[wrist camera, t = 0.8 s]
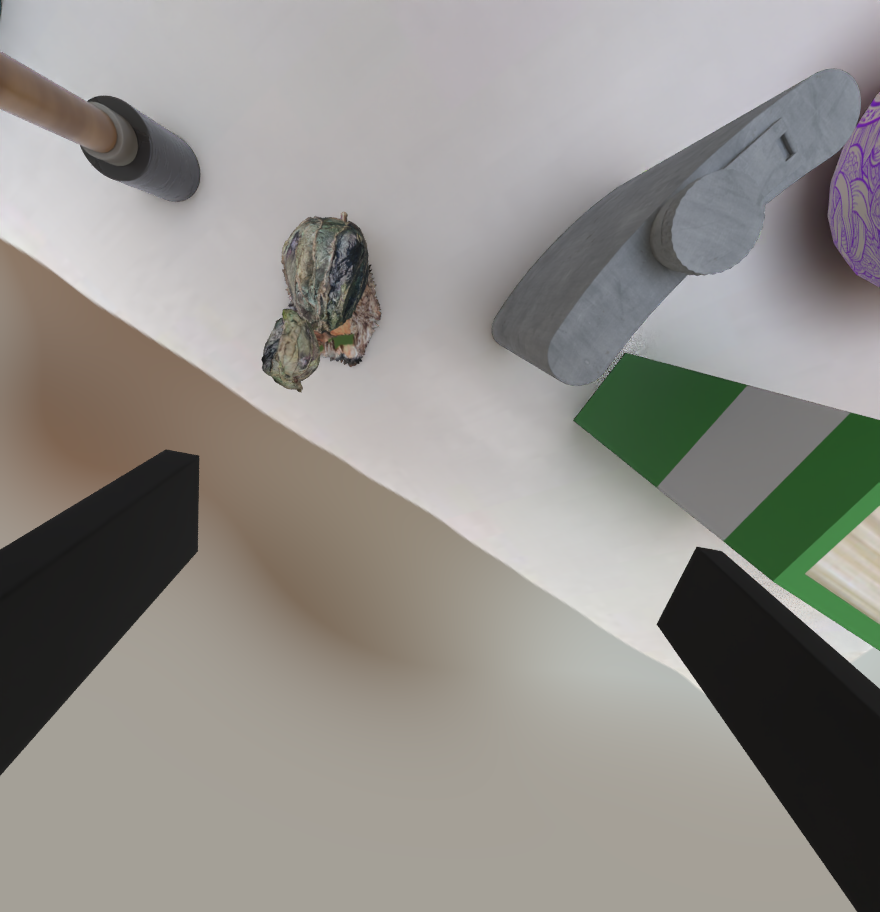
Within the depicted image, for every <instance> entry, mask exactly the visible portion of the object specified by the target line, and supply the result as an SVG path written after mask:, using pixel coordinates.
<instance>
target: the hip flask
mask: <svg viewBox="0 0 880 912" xmlns="http://www.w3.org/2000/svg"><path fill="white" fill-rule="evenodd" d="M860 109H861V97H860V91H859V88H858V85H857V83H856V81H855V80H854V78H853V77H852V76H851V75H850V74H848V73H847V72H845V71H843V70H839V69H826V70H823V71H820V72H817V73H815V74H814V75H812V76H810V77H808V78H807V79H805V80H803V81H802V82H800V83H798V84H796V85H795V86H793V87H791V88H789V89H788V90H786V91H784V92H782V93H781V94H779V95H777V96H775V97H774V98H772V99H770V100H769V101H767V102H765V103H763V104H762V105H760V106H758V107H756V108H755V109H753V110H751V111H749V112H748V113H746V114H744V115H742V116H741V117H739V118H737V119H736V120H734V121H732V122H730V123H729V124H727V125H725V126H723V127H722V128H720V129H718V130H716V131H715V132H713V133H711V134H709V135H708V136H706V137H704V138H703V139H701V140H699V141H697V142H696V143H694V144H692V145H690V146H689V147H687V148H685V149H683V150H682V151H680V152H678V153H676V154H675V155H673V156H671V157H670V158H668V159H666V160H664V161H663V162H661V163H659V164H657V165H656V166H654V167H652V168H650V169H649V170H647V171H645V172H643V173H642V174H640V175H638V176H637V177H635V178H633V179H631V180H630V181H628V182H626V183H624V184H623V185H621V186H619V187H617V188H616V189H615V190H613V191H612V192H611V193H609V194H608V195H607V196H605V197H604V198H603V199H601V200H600V201H599V202H598V203H596V204H595V205H594V206H593V207H591V208H590V209H589V210H588V211H587V212H586V213H585V214H583V215H582V216H581V217H580V218H579V219H578V220H577V221H576V222H575V223H573V224H572V225H571V226H570V227H569V228H568V229H567V230H566V231H565V232H564V233H563V234H562V235H561V236H560V237H559V238H558V239H557V240H556V241H555V242H554V243H553V244H552V245H551V246H550V247H549V248H548V250H547V251H546V252H545V253H544V254H543V255H542V256H541V257H540V258H539V259H538V261H537V262H536V263H535V264H534V265H533V266H532V268H531V269H530V270H529V271H528V272H527V274H526V275H525V276H524V277H523V279H522V280H521V281H520V282H519V284H518V285H517V286H516V288H515V289H514V290H513V292H512V293H511V294H510V296H509V297H508V299H507V300H506V302H505V303H504V305H503V306H502V308H501V309H500V311H499V313H498V314H497V316H496V317H495V319H494V321H493V324H492V335H493V337H494V339H495V341H496V342H497V343H498V344H500V345H501V346H503V347H504V348H506V349H508V350H509V351H511V352H513V353H514V354H516V355H518V356H519V357H521V358H523V359H524V360H526V361H528V362H529V363H531V364H533V365H534V366H536V367H538V368H539V369H541V370H543V371H544V372H546V373H548V374H549V375H551V376H553V377H554V378H556V379H558V380H559V381H561V382H563V383H565V384H568V385H572V386H580V385H585V384H588V383H591V382H593V381H594V380H596V379H598V378H599V377H600V376H601V375H602V374H603V373H604V372H605V371H606V369H607V368H608V367H609V365H610V364H611V363H612V361H613V360H614V358H615V357H616V356H617V354H618V353H619V352H620V350H621V349H622V348H623V347H624V345H625V344H626V343H627V342H628V340H629V339H630V338H631V336H632V335H633V334H634V333H635V332H636V330H637V329H638V328H639V327H640V326H641V325H642V323H643V322H644V321H645V320H646V319H647V318H648V316H649V315H650V314H651V313H652V312H653V311H654V310H655V309H656V308H657V306H658V305H659V304H660V303H661V302H662V301H663V300H664V299H665V298H666V297H667V295H668V294H669V293H670V292H671V291H672V290H673V289H674V288H675V287H676V286H677V285H678V284H679V283H680V282H681V281H682V280H683V279H684V278H685V277H686V276H687V275H696V276H699V275H707V274H716V273H721V272H723V271H725V270H727V269H730V268H732V267H733V266H734V265H736V264H738V263H739V262H740V261H741V260H742V259H743V258H744V257H746V256H747V255H748V253H749V251H750V250H751V249H752V248H753V247H754V245H755V242H756V241H757V240H758V238H759V235H760V232H761V230H762V228H763V221H764V219H765V214H764V211H765V205H766V204H767V203H768V202H770V201H771V200H772V199H773V198H775V197H776V196H777V195H779V194H780V193H781V192H782V191H784V190H785V189H786V188H788V187H789V186H790V185H792V184H793V183H794V182H796V181H797V180H799V179H800V178H801V177H803V176H804V175H805V174H807V173H808V172H810V171H811V170H813V169H814V168H816V167H817V166H819V165H820V164H822V163H823V162H824V161H826V160H827V159H829V158H830V157H832V156H833V155H834V154H836V153H837V152H838V151H839V150H840V149H841V148H842V147H843V146H844V145H845V144H846V142H847V141H848V139H849V138H850V137H851V135H852V133H853V131H854V129H855V127H856V124H857V121H858V119H859V114H860Z"/></svg>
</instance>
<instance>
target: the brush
mask: <svg viewBox="0 0 880 912" xmlns="http://www.w3.org/2000/svg"><path fill="white" fill-rule="evenodd" d="M0 109H1V110H4V111H6V112H8V113H10V114H13V115H15V116H17V117H19V118H21V119H24V120H26V121H28V122H30V123H33V124H35V125H37V126H39V127H42V128H44V129H46V130H48V131H51V132H53V133H55V134H57V135H59V136H62V137H64V138H66V139H68V140H71V141H73V142H75V143H77V144H80V146H81V149H82V151H83V153H84V155H85V156H86V158H87V159H88V160H89V162H90V163H91V164H92V165H93V166H94V167H95V168H96V169H97V170H98V171H99V172H100V173H102V174H103V175H105V176H107V177H109V178H111V179H113V180H116V181H119V182H121V183H124V184H126V185H129V186H132V187H134V188H137V189H139V190H142V191H145V192H147V193H150V194H152V195H155V196H158V197H160V198H163V199H165V200H168V201H174V202H178V201H183V200H186V199H188V198H189V197H191V196H192V195H193V194H194V193H195V191H196V189H197V187H198V185H199V180H200V169H199V164H198V161H197V159H196V156H195V154H194V153H193V151H192V149H191V148H190V147H189V146H188V145H187V143H186V142H184V141H183V140H182V139H181V138H179V137H178V136H176V135H175V134H173V133H172V132H170V131H169V130H167V129H166V128H164V127H163V126H161V125H160V124H158V123H156V122H155V121H153V120H152V119H150V118H149V117H147V116H146V115H144V114H143V113H141V112H140V111H138V110H137V109H135V108H134V107H132V106H131V105H129V104H128V103H126V102H124V101H123V100H121V99H118V98H116V97H112V96H97V97H94V98H91V99H90V100H88V101H85V100H83V99H81V98H80V97H78V96H76V95H75V94H73V93H71V92H69V91H68V90H66V89H64V88H63V87H61V86H59V85H58V84H56V83H54V82H52V81H51V80H49V79H47V78H46V77H44V76H42V75H40V74H39V73H37V72H35V71H34V70H32V69H30V68H28V67H27V66H25V65H23V64H22V63H20V62H18V61H16V60H15V59H13V58H11V57H10V56H8V55H6V54H5V53H3V52H1V51H0Z"/></svg>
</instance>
